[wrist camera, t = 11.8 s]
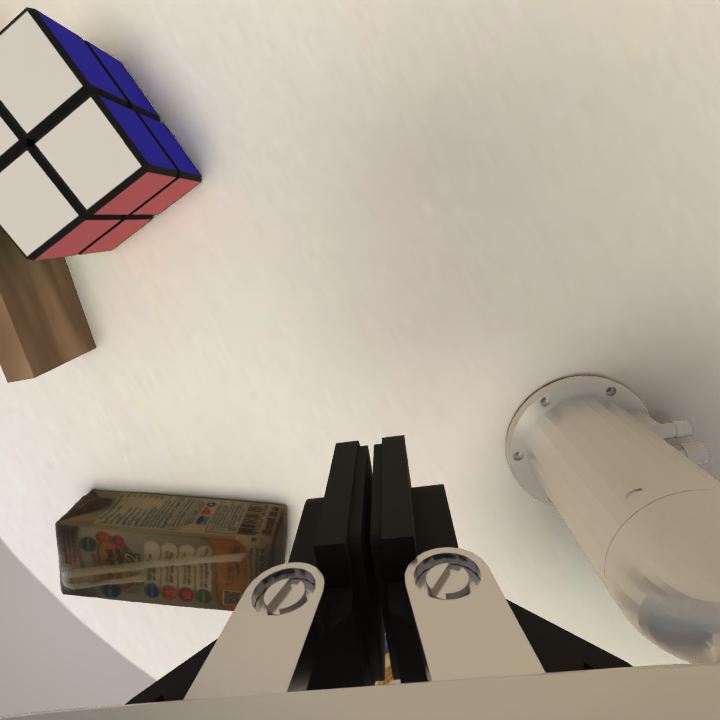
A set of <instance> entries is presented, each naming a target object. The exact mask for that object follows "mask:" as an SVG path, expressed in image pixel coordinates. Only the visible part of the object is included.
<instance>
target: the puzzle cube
mask: <svg viewBox="0 0 720 720" xmlns="http://www.w3.org/2000/svg"><path fill="white" fill-rule="evenodd" d="M200 182H201V175H200V173H199V172H198V171H197V169H196V168H195V166H194V165H193V163H192V162H191V161H190V159H189V158H188V156H187V155H186V154H185V152H184V151H183V149H182V148H181V147H180V145H179V144H178V142H177V141H176V140H175V138H174V137H173V135H172V134H171V133H170V131H169V130H168V128H167V127H166V126H165V124H163V123H160V122H159V116H158V114H157V113H156V112H155V110H154V109H153V107H152V106H151V104H150V103H149V102H148V100H147V99H146V97H145V96H144V95H143V93H142V92H141V90H140V89H139V88H138V86H137V85H136V83H135V82H134V81H133V79H132V78H131V76H130V75H129V74H128V72H127V71H126V69H125V68H124V67H123V65H122V64H121V62H119V61H118V60H116V59H115V58H113V57H112V56H110V55H108V54H107V53H105V52H104V51H102V50H100V49H99V48H97V47H96V46H94V45H93V44H91V43H89V42H88V41H85V40H83V39H82V38H81V37H79V36H78V35H76V34H75V33H73V32H71V31H70V30H68V29H66V28H65V27H63V26H62V25H60V24H58V23H57V22H55V21H54V20H52V19H50V18H49V17H47V16H46V15H44V14H42V13H41V12H39V11H37V10H36V9H32V8H28V7H27V8H26V9H24V10H23V11H22V12H21V13H20V14H19V15H18V16H17V17H16V18H15V19H14V20H12V21H11V22H10V23H9V24H8V25H7V26H6V27H5V28H4V29H3V30H2V31H0V228H1V229H2V230H3V231H4V233H5V234H6V235H7V236H8V237H9V239H10V240H11V241H12V242H13V243H14V244H15V246H16V247H17V248H18V249H19V250H20V252H21V253H22V254H23V255H24V256H25V258H26V259H29V260H34V261H35V260H42V259H50V258H58V257H66V256H73V255H76V254H80V255H82V254H89V253H96V252H103V251H111V250H113V249H114V248H115V247H116V246H118V245H119V244H120V243H122V242H123V241H124V240H126V239H127V238H128V237H130V236H131V235H132V234H133V233H135V232H136V231H137V230H139V229H140V228H141V227H143V226H144V225H145V224H147V223H148V222H149V221H150V220H152V215H158V214H160V213H161V212H162V211H164V210H165V209H166V208H167V207H169V206H170V205H171V204H173V203H174V202H175V201H177V200H178V199H179V198H181V197H182V196H183V195H184V194H186V193H187V192H188V191H190V190H191V189H192V188H194V187H195V186H196V185H198V184H199V183H200Z"/></svg>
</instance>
